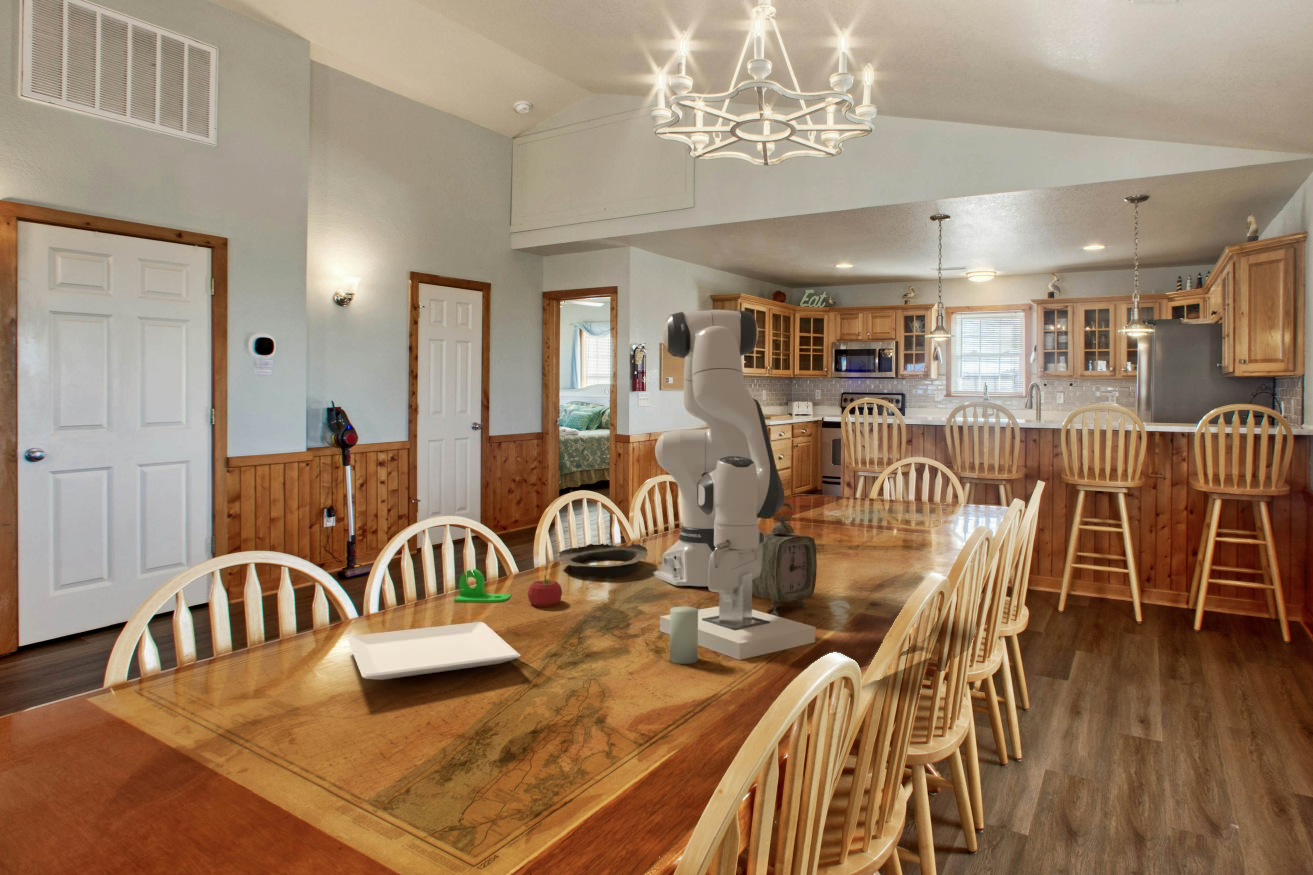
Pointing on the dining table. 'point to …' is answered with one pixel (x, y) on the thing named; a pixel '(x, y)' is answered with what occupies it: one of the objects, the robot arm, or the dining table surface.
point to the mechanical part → (477, 590)
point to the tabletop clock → (786, 565)
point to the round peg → (684, 635)
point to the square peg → (738, 603)
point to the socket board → (747, 634)
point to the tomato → (544, 593)
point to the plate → (428, 650)
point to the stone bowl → (603, 553)
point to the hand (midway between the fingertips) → (735, 606)
